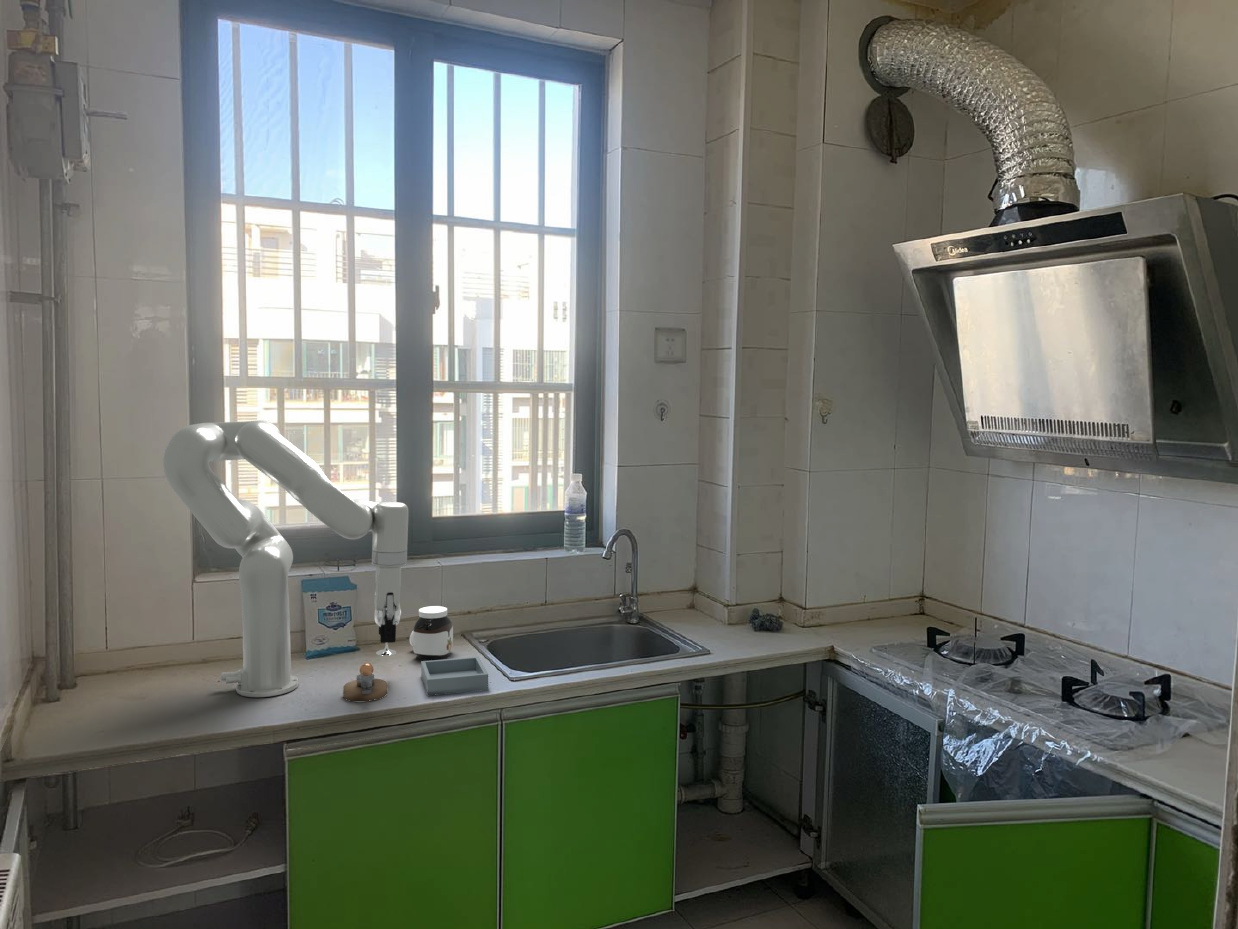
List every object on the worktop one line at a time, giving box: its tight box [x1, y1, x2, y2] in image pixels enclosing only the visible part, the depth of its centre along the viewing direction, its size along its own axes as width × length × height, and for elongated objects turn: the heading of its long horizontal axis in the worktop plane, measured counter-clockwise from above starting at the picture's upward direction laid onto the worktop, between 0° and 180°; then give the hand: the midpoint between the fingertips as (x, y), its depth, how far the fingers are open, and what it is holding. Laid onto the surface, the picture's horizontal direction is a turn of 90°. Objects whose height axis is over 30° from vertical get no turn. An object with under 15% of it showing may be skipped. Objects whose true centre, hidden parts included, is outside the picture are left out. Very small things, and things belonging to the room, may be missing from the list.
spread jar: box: [409, 605, 454, 661], centre depth 214 cm, size 12×11×12 cm
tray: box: [420, 656, 489, 696], centre depth 194 cm, size 13×13×4 cm
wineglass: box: [373, 598, 402, 657], centre depth 194 cm, size 6×6×12 cm
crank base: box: [342, 678, 388, 702], centre depth 186 cm, size 9×9×2 cm
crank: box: [356, 662, 375, 694], centre depth 182 cm, size 10×4×7 cm, turn 18°
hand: (386, 637), depth 194 cm, fingers closed on wineglass, 5 cm apart
